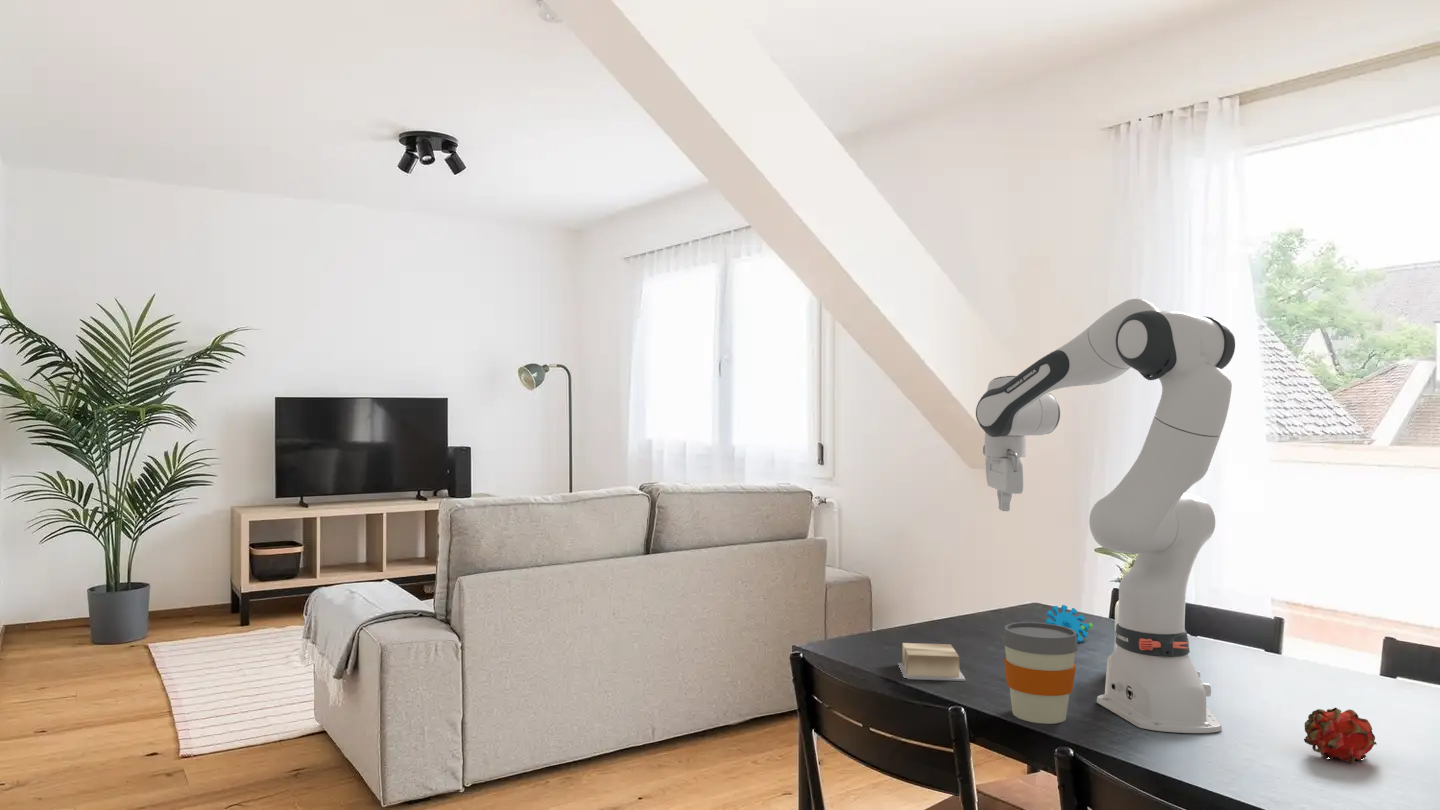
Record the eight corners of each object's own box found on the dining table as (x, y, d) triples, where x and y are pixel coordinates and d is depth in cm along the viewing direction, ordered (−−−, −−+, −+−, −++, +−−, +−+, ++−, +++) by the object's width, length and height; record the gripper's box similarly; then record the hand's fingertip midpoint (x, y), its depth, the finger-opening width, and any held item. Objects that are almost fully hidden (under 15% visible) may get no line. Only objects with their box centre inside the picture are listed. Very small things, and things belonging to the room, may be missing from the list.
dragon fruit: (1299, 768, 148) (1363, 775, 151) (1340, 752, 142) (1407, 759, 144) (1280, 714, 153) (1343, 721, 156) (1319, 696, 147) (1384, 704, 149)
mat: (965, 680, 188) (965, 678, 188) (904, 678, 189) (904, 676, 189) (955, 666, 199) (955, 664, 199) (897, 664, 200) (897, 662, 200)
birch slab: (950, 663, 200) (959, 676, 190) (902, 661, 200) (908, 675, 190) (950, 644, 200) (959, 656, 190) (902, 642, 200) (908, 655, 190)
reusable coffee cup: (995, 719, 165) (996, 632, 165) (1009, 700, 176) (1010, 619, 176) (1071, 731, 159) (1072, 642, 159) (1081, 711, 170) (1082, 627, 170)
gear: (1050, 636, 219) (1044, 600, 226) (1041, 650, 223) (1036, 614, 231) (1098, 644, 219) (1090, 607, 226) (1088, 657, 224) (1081, 620, 231)
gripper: (1031, 451, 203) (1030, 516, 203) (1008, 447, 223) (1008, 506, 223) (1001, 450, 203) (1000, 515, 203) (981, 446, 224) (980, 505, 224)
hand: (1004, 510), depth 214 cm, fingers closed
